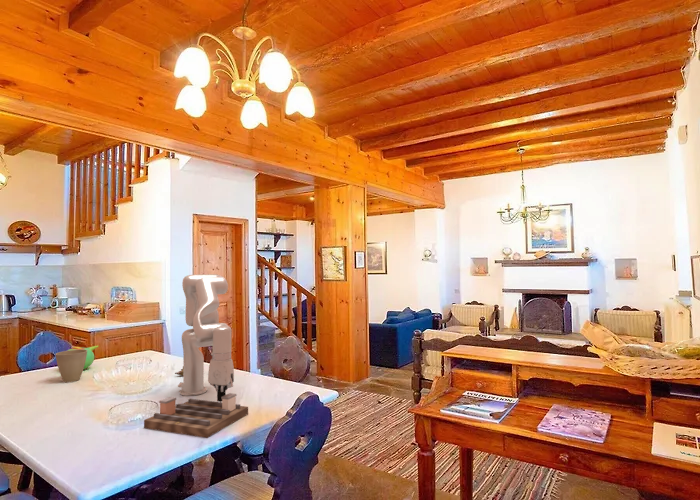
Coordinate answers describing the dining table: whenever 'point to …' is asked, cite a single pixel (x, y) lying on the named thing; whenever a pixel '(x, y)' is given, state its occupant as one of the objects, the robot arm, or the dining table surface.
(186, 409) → the board
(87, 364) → the toy bird
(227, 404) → the fader cream
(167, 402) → the block
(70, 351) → the plant pot
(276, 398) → the dining table surface
